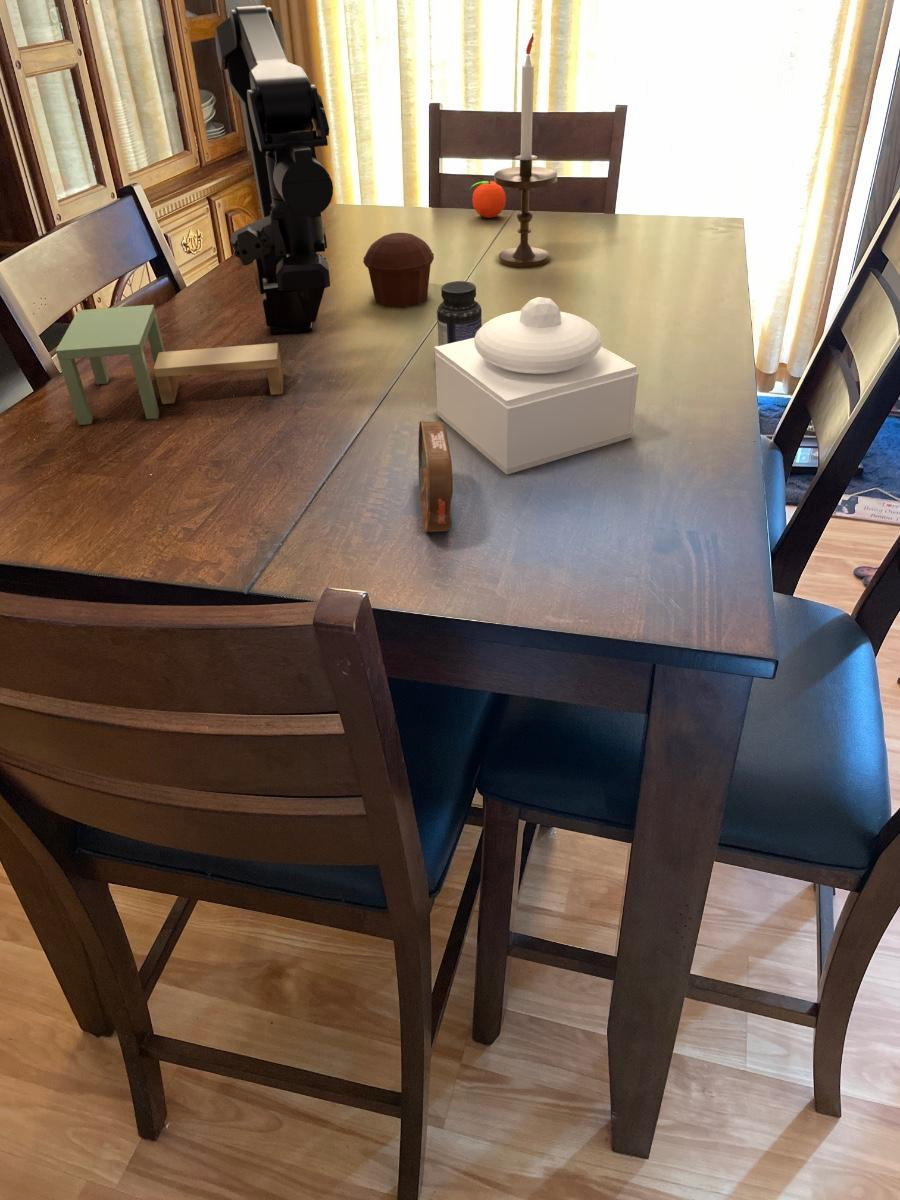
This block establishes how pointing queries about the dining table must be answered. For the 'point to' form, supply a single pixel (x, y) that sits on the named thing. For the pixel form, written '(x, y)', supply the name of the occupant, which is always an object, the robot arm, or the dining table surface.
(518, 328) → the white lidded box
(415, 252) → the muffin
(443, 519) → the tin
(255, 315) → the dining table surface
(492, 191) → the clementine
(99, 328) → the side table
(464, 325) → the pill bottle
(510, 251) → the candlestick
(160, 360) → the bench
